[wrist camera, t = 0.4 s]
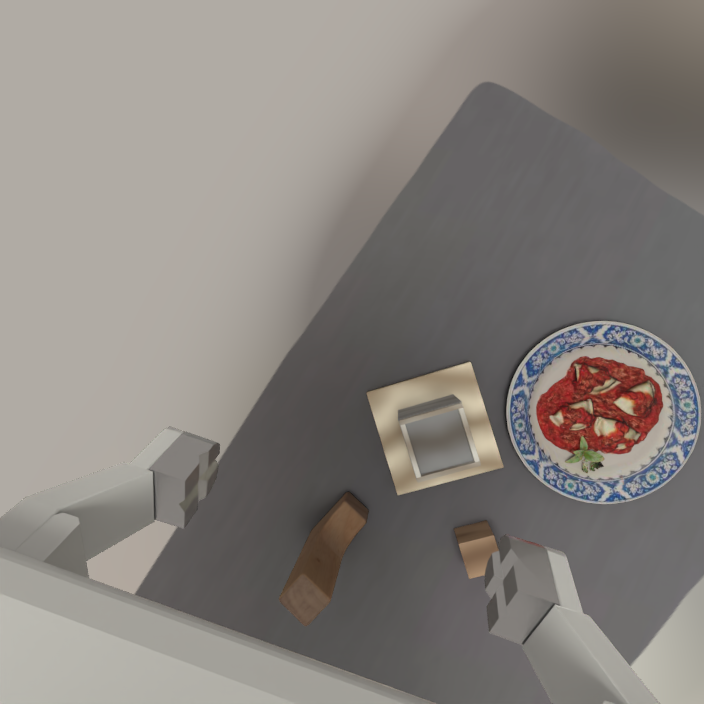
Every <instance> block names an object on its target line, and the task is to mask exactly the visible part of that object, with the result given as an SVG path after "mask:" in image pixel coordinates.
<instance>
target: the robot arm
mask: <svg viewBox="0 0 704 704" xmlns="http://www.w3.org/2000/svg"><path fill="white" fill-rule="evenodd" d="M219 450H220V444H219V443H217V442H214V441H211V440H209V439H205V438H203V437H200V436H197V435H194V434H191V433H188V432H185V431H182V430H179V429H176V428H173V427H168V428H165V429H164V430H163V431H162V432H161V433H160V434H159V435H158V436H157V437H156V438H155V439H154V440H153V441H152V442H151V443H150V444H149V445H148V446H147V447H146V448H145V449H143V451H142V452H141V453H140V454H138V455H137V456H136V457H135V458H134V459H133V460H132V461H131V462H130V463H125V462H123V463H120V464H118V465H115V466H112V467H109V468H107V469H103V470H101V471H98V472H95V473H93V474H89V475H87V476H84V477H81V478H78V479H76V480H72V481H70V482H67V483H64V484H61V485H58V486H56V487H53V488H50V489H47V490H44V491H41V492H39V493H37V494H33V495H30V496H28V497H25V498H24V499H23V500H21V501H20V502H19V503H18V504H17V505H15V506H14V507H13V508H12V509H10V510H9V511H8V512H7V513H6V514H4V515H3V516H2V517H1V518H0V704H436V703H434V702H431V701H428V700H425V699H423V698H420V697H417V696H414V695H411V694H409V693H406V692H403V691H400V690H398V689H395V688H392V687H389V686H386V685H384V684H381V683H378V682H375V681H373V680H370V679H367V678H364V677H362V676H359V675H356V674H353V673H350V672H348V671H345V670H342V669H339V668H337V667H334V666H331V665H328V664H326V663H323V662H320V661H317V660H314V659H312V658H309V657H306V656H303V655H301V654H298V653H295V652H292V651H290V650H287V649H284V648H281V647H278V646H276V645H273V644H270V643H267V642H265V641H262V640H259V639H256V638H253V637H251V636H248V635H245V634H242V633H240V632H237V631H234V630H231V629H229V628H226V627H223V626H220V625H217V624H215V623H212V622H209V621H206V620H204V619H201V618H198V617H195V616H192V615H190V614H187V613H184V612H181V611H179V610H176V609H173V608H170V607H167V606H165V605H162V604H159V603H156V602H154V601H151V600H148V599H145V598H142V597H140V596H137V595H134V594H131V593H129V592H126V591H123V590H120V589H117V588H114V587H112V586H109V585H106V584H104V583H101V582H98V581H95V580H92V579H90V578H89V575H88V569H87V563H86V561H87V560H89V559H91V558H92V557H94V556H96V555H98V554H99V553H101V552H103V551H104V550H106V549H108V548H110V547H111V546H113V545H115V544H117V543H118V542H120V541H122V540H124V539H125V538H127V537H129V536H130V535H132V534H134V533H136V532H137V531H139V530H141V529H142V528H144V527H146V526H148V525H149V524H151V523H153V522H154V520H157V521H161V522H164V523H167V524H170V525H174V526H177V527H180V528H183V529H184V528H185V527H186V525H187V524H188V523H189V521H190V520H191V518H192V517H193V515H194V514H195V513H196V511H197V510H198V501H199V500H201V499H203V498H205V497H207V495H208V494H209V492H210V491H211V489H212V487H213V485H214V483H215V480H216V478H217V474H218V467H219V464H218V463H217V461H216V460H215V459H216V457H217V456H218V455H219V453H220V451H219ZM498 545H499V551H497V552H494V553H492V554H491V556H490V558H489V560H488V562H487V566H486V570H485V590H486V592H487V593H488V595H489V596H490V598H491V600H490V602H489V603H488V605H487V616H488V627H489V633H491V634H494V635H496V636H499V637H502V638H505V639H507V640H510V641H513V642H515V643H518V644H521V645H523V646H522V648H523V650H524V652H525V654H526V656H527V658H528V659H529V661H530V663H531V665H532V667H533V669H534V671H535V673H536V674H537V676H538V678H539V680H540V682H541V684H542V686H543V688H544V689H545V691H546V693H547V695H548V697H549V699H550V701H551V703H552V704H660V703H659V702H658V700H657V699H656V698H655V697H654V695H653V694H652V693H651V692H650V691H649V689H648V688H647V687H646V686H645V685H644V683H643V682H642V681H641V679H640V678H639V677H638V676H637V674H636V673H635V672H634V671H633V669H632V668H631V667H630V666H629V664H628V663H627V662H626V661H625V659H624V658H623V657H622V656H621V654H620V653H619V652H618V651H617V650H616V648H615V647H614V646H613V645H612V643H611V642H610V641H609V640H608V638H607V637H606V636H605V635H604V633H603V632H602V631H601V630H600V628H599V627H598V626H597V625H596V623H595V622H594V621H593V620H592V619H591V617H590V616H588V615H586V614H583V611H582V608H581V604H580V601H579V598H578V594H577V591H576V587H575V584H574V581H573V577H572V574H571V571H570V567H569V564H568V561H567V557H566V555H565V554H564V553H563V552H561V551H558V550H555V549H552V548H549V547H545V546H542V545H539V544H536V543H533V542H529V541H526V540H523V539H520V538H516V537H513V536H510V535H507V534H505V535H504V536H502V537H501V539H500V541H499V542H498Z"/></svg>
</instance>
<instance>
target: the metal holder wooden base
mask: <svg viewBox="0 0 704 704" xmlns="http://www.w3.org/2000/svg"><path fill="white" fill-rule="evenodd" d="M367 397H368V400H369V403H370V406H371V410H372V413H373V416H374V419H375V423H376V426H377V429H378V432H379V436H380V439H381V442H382V446H383V449H384V452H385V455H386V459H387V462H388V465H389V468H390V472H391V475H392V478H393V481H394V485H395V488H396V491H397V494H398V495H401V494H405V493H408V492H412V491H416V490H420V489H424V488H427V487H431V486H435V485H439V484H442V483H446V482H450V481H454V480H458V479H461V478H465V477H469V476H473V475H476V474H480V473H484V472H488V471H492V470H495V469H499V468H503V464H502V460H501V457H500V454H499V451H498V448H497V444H496V441H495V438H494V435H493V432H492V428H491V425H490V422H489V419H488V416H487V412H486V409H485V406H484V403H483V400H482V396H481V393H480V390H479V387H478V384H477V381H476V377H475V374H474V371H473V368H472V365H471V362H466V363H463V364H459V365H456V366H453V367H449V368H446V369H442V370H439V371H436V372H432V373H429V374H426V375H422V376H419V377H415V378H412V379H409V380H405V381H402V382H399V383H395V384H392V385H388V386H385V387H382V388H378V389H375V390H372V391H368V392H367Z"/></svg>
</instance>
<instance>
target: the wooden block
mask: <svg viewBox="0 0 704 704" xmlns="http://www.w3.org/2000/svg"><path fill="white" fill-rule="evenodd" d="M368 512H369V511H368V509H367V508H366V507H365V506H364V505H363V504H362V503H360V502H359V501H358V500H357V499H356V498H355V497H354V496H353V495H352V494H351V493H350V492H347V493H345V495H344V496H343V497H342V498H341V499H340V500H339V501H338V502H337V503H336V504H335V505H334V506H333V508H332V509H331V510H330V511H329V512H328V513H327V514H326V515H325V516H324V517H323V518H322V519H321V521H320V522H319V523H318V524H317V525H316V526H315V527H314V528H313V529H312V530H311V532H310V534H309V537H308V539H307V541H306V543H305V545H304V547H303V549H302V551H301V553H300V555H299V557H298V560H297V562H296V564H295V566H294V568H293V570H292V572H291V574H290V576H289V578H288V580H287V583H286V585H285V587H284V589H283V591H282V593H281V595H280V597H279V601H280V602H281V603H282V604H283V605H284V606H285V607H286V608H287V609H288V610H289V611H290V612H291V613H292V614H293V615H294V616H295V617H296V618H297V619H298V620H299V621H300V622H301V623H302V624H303V625H304V626H307V625H309V624H310V623H311V622H312V620H313V619H314V618H315V617H316V616H317V615H318V614H319V613H320V612H321V611H322V610H323V609H324V608H325V607H326V606H327V605H328V604H329V603H330V601H331V597H332V594H333V590H334V586H335V582H336V579H337V575H338V571H339V568H340V564H341V560H342V557H343V555H344V553H345V550H346V549H347V547H348V546H349V544H350V543H351V541H352V540H353V538H354V537H355V535H356V534H357V533H358V532H359V531H360V530H361V528H362V527H363V526H364V525H365V524H366V522H367V517H368Z"/></svg>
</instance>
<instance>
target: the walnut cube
mask: <svg viewBox="0 0 704 704" xmlns="http://www.w3.org/2000/svg"><path fill="white" fill-rule="evenodd" d="M454 531H455V534H456V538H457V541H458V544H459V547H460V551H461V554H462V557H463V560H464V564H465V567H466V570H467V573H468V576H469V579H470V578H475V577H479V576H483V575H485V570H486V566H487V562H488V560H489V558H490V556H491V554H492V553H494V552H497V551H499V550H498V547H497V544H496V540H495V537H494V534H493V532H492V530H491V528H490V526H489V525H488V523H487V521H482V522H478V523H474V524H470V525H466V526H462V527H458V528H454Z"/></svg>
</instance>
